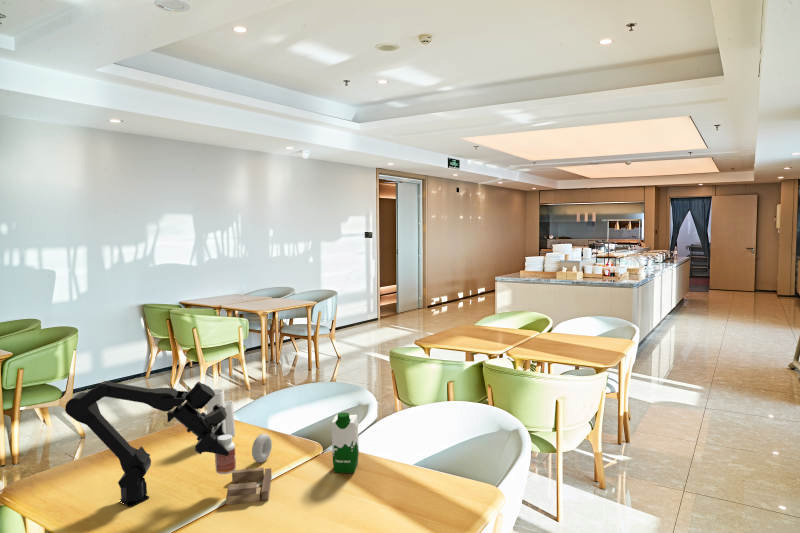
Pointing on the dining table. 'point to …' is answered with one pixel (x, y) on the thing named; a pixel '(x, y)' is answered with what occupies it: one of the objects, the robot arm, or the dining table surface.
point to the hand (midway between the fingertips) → (229, 450)
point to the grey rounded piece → (261, 447)
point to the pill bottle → (226, 462)
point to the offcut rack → (249, 486)
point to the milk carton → (345, 443)
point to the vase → (229, 409)
